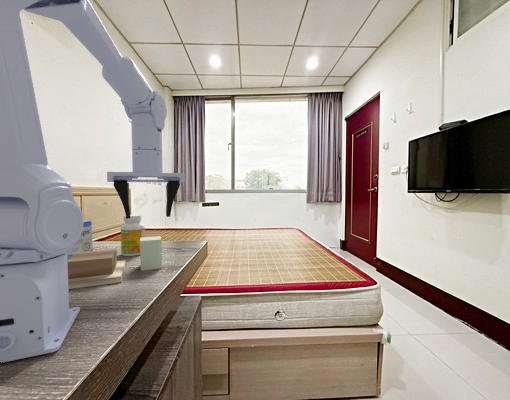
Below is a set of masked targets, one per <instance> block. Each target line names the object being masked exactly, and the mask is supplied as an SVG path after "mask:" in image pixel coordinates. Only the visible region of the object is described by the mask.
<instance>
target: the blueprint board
mask: <svg viewBox="0 0 510 400" xmlns="http://www.w3.org/2000/svg"><path fill="white" fill-rule="evenodd" d="M117 250H118V249H117V248H110V249H100V250H93V251H87V252H76V253H74V254H73V255H72V256H71V257H70V258H69V259H68V260H67V262H68V289H69V290H71V289H72V290H73V289H80V288H86V287H94V286H95V287H96V286H101V285H103V286H104V285H108V284H110V285H111V284H117V283H122V281H123V278H124V274H125V270H126V265H127V260H126V259H123V260H118V254H117V253H118V251H117Z"/></svg>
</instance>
